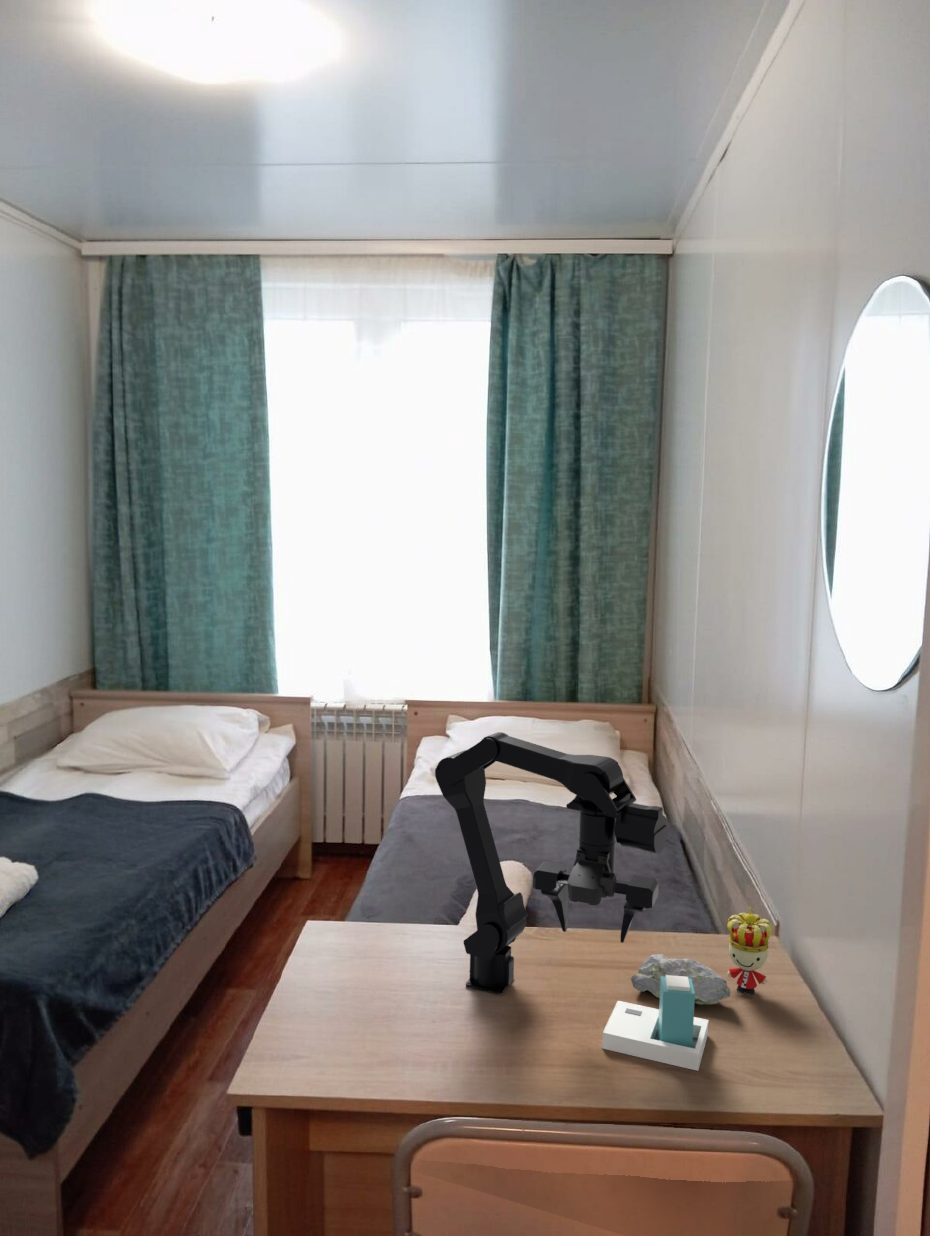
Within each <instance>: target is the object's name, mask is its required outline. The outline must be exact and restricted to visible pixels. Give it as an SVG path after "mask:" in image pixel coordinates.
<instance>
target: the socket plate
mask: <svg viewBox="0 0 930 1236" xmlns="http://www.w3.org/2000/svg"><path fill="white" fill-rule="evenodd" d="M609 1016H610V1017H609V1018H608V1020H607V1023H606V1025H605V1027H604V1030H603V1032H602V1042H601V1043H602V1044H601V1048H602V1049H603V1050H608V1051H611V1052H616V1053H621V1054H624V1055H629V1056H634V1057H637V1058H641V1059H645V1060H649V1061H653V1062H654V1061H655V1062H658V1063H663V1064H667V1065H672V1066H675V1067H680V1068H684V1069H687V1070H688V1069H689V1070H693V1071H697V1072H698V1071H699V1069H700V1067H701V1062H702V1058H703V1054H704V1052H705V1047H706V1043H707V1041H708V1040H707V1039H708V1036H709V1019H705V1018H701V1017H696V1016H694V1021H693V1040H692V1048H690V1047H685V1046H681V1045H676V1044H672V1043H668V1042H663V1041H659V1040H658V1022H659V1008H655V1007H649V1006H646V1005H645V1006H644V1005H639V1004H635V1003H631V1002H626V1001H621V1000H617V1001H616V1003H615V1006H614V1008H613V1010H612V1011H611V1014H610V1015H609Z"/></svg>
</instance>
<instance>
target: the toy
mask: <svg viewBox="0 0 930 1236" xmlns="http://www.w3.org/2000/svg"><path fill="white" fill-rule="evenodd" d="M752 907H753V905H751V904H749V906H746V910H750V911H749V912H748V913H746V912H740V913H738V914H732V915H731V916H729V918H728V919H727V924H726V925H727V926H726V927H727V930H728V933H729V937H728V943H729V944H728V945H729V946H728V953H729V957H730V959H731V960H732V962H733V964H735V966H737V967H733V968H732V967H731V968H729V969H728V971H727V976H728V977H729V978H732V979H736V978H737V977H738V976H739V977H738V978H737V980H736V984H737V988H736V991H737V992H738V993H742V994H743V993H746V994H747V995H751V996H753V995H756V991H755V988H757V986H758V984H759V985H761V984H762V985H766V984H767V982H768V979H767V976H766V975H765V974H762V973H760V972H758V971H757V970H759V969H761V968H762V967H763V966H764V965H765V963H766V962H767V959H768V955H769V952H768V951H769V944H770V943H769V940H770V937H771V935H772V933H773V932H772V927H773V926H772V925H771V922H770V920H768V919H766V918H762V917H761V915H759V914H757V913H752V911H755V908H752ZM733 918H735V919H733ZM735 924H738V927H736V928H735V927H734V925H735ZM762 926H763V927H764V928H765V929H764V931H762V929H761V928H760V927H762ZM757 983H758V984H757Z"/></svg>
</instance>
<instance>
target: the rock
mask: <svg viewBox="0 0 930 1236" xmlns="http://www.w3.org/2000/svg"><path fill="white" fill-rule="evenodd" d="M666 975H672V976H685V977H688V978H689V979H692V984H693V988H694V992H695V1003H694V1004H697V1005H700V1006H701V1005H706V1006H707V1005H714V1004H717V1003H719V1002H720V1000H723V999H727V998H731V988H730V987H729V986H728V983H727V982H728V981H727V980H726V979H725V978H723V977H722V976H720V975H719V974H717V972H715V971H714V969H712V968H710V967H709V966H706V965H705V964H704V963H701V962H699V961H697V960H694V959H692V958H687V957H685V958H683V959H682V958H674V957H672V958H668V957H667V956H666V955H664V954H663V953H656V954H655V953H654V954H652V955H650V956H649V957H648V958H647V959H645V960H644V961H643V962H642V963H641V964H639V968H638V973H636V974H633V975H632V976H631V978H630V980H631V983H632V987H633V988H634V989H636V990H637V991H640V992H645V991H648V992H649V993H651V994H652V995H654V996H655V998H659V999H660V981H661V976H663V977H666Z"/></svg>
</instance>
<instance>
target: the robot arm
mask: <svg viewBox="0 0 930 1236" xmlns="http://www.w3.org/2000/svg"><path fill="white" fill-rule="evenodd" d="M496 762H498V763H501V764H504V765H507V766H510V767H514V768H516V769H519V770H522V771H525V772H528V773H531V774H535V775H538V776H541V777H544V778H546V779H551V780H553V781H555V782H558V783H559V784H561V785H563V787H564V788H566V789H567V790H568V791H569V792H570V793H572V794H574V795H575V797H574V798H573V799H572V800H571V801H570V802H568V803H567V804H566V805H565V806H566V808H567V809H568V810H573V811H578V812H579V813H578V815H579V816H578V840H577V841H578V842H577V843H578V845H577V846H578V847H577V849H576V856H575V860H574V863H573V865H572V870H571V872H569V871H568V866H567V864H566V863H561V862H557V861H550V860H544V862H542V863H541V864H540V865H539V867H537V869H536V870H535V871H534V872H533V876H532V887H533V889H534V890H539V891H540V893H541V894H542V895H544V896H546V897H548V898H549V899H550V900H551V902H552V904H553V906H554V908H555V911H556V916H557V917H558V921H559V923H560V926H561V931H562V932H565V933H566V932H567V931H568V923H569V901H571V902H573V903H578V902H579V903H583V904H588V905H590V906H597V905H599V904H600V903H601V901H602V898H604V899H606V898H608V897H610V898H613V897H614V896H615V894H620V895H625V901H626V902H625V903H624V906H623V915H622V916H623V917H622V923H621V928H620V929H621V930H620V943H621V944H624V942H625V940H626V938H627V935H628V932H629V930H630V928H631V925H632V923H633V920H634V917H635V915H636V913H637V912H641V913H642V912H644V911H645V909H647V910H648V909H652V908H654V907H653V906H654V905H655V902H656V901H657V899H658V896H659V885H660V884H659V881H658V880H656V878H654V877H647V876H641V875H635V874H633V875H632V876H631V879H630V880H629V881H626V880H625V881H624V880H620V879H619V880H617V876H616V867H615V866H616V864H615V863H616V849H617V844H620V845H621V847H624V848H628V849H631V850H632V849H633V850H638V851H642V852H646V853H651V854H656V855H660V854H661V853H662V851H663V850H664V848H665V845H666V841H667V836H668V828H669V827H668V825H667V821H666V817H665V815H664V813H663V811H664V808H663V807H662V806H657V805H645V804H639V803H635V802H636V801H637V798H636V796H635V795H634V792H633V791H632V790H631V788H630V785H628V783H627V782H626V780H625V778H624V773H623V770H622V768H621V765H619V762H618V761H617V760H615V759H614V758H612V757H609V756H604V755H603V756H602V755H596V754H595V755H594V754H570V753H565V752H562V751H559V750H555V749H553V748H549V747H546V746H543V745H539V744H536V743H533V742H531V741H526V740H523V739H519V738H517V737H513V736H510V735H508V734H507V733H505V732H500V731H498V732H494V733H492V734H490V735H487V736H484V737H483V738H482V739H481V740H480V741H479V742H477V743H476V744H474V745H473V746H472V747H470V748H468V749H464V750H462V751H460V752H457V753H455V754H454V753H453V754H452V755H449V756H447V757H445V758H442V759H441V760H440V761H439V762H438V764H437V765H436V768H434V775H435V780H436V783H437V785H438V787H439V789H440V793H441V794H442V796H443V798H444V799H445V800H446V801H447V803H449V805H450V806H451V807H452V809H454V811H455V814H456V817H457V820H458V825H459V829H460V832H461V835H462V841H463V843H464V846H465V850H466V853H467V857H468V861H469V866H470V868H471V873H472V876H473V880H474V884H475V887H476V891H477V901H476V907H475V908H476V909H475V912H474V913H475V922H476V931H474V932H473V933H472V934H471V935H469V936H468V937H467V938H465V939H464V940H463V946H464V949H465V954H467V955H469V979H468V980H467V981H465V987H467V988H470V989H473V990H474V989H476V990H480V991H484V992H489V993H493V994H497V995H502V994H504V992H505V991H506V990H507V988H508V987H509V986H510V985H511V984H512V982H513V980H514V978H515V975H514V972H515V971H514V970H515V969H514V967H515V958H514V956H512V946H509V945H511V944H512V943H515V941H516V939H517V937H518V936H520V934H522V933H523V932H524V930H525V929H526V926H527V917H528V916H529V913H528V911H527V910H526V907H525V904H524V896H523V894H522V892H521V891H520V892H516V893H514V892H513V891H512V890H511V889H510V887H508V885H507V883H506V880H505V877H504V873H503V869H502V865H501V862H500V857H499V854H498V851H497V848H496V844H495V840H494V836H493V833H492V828H491V825H490V821H489V818H488V814H487V811H486V807H485V801H484V800H485V799H484V798H485V793H486V786H487V778H486V771H485V770H486V769H487V768H489V767H490V766H492V765H493V764H494V763H496ZM612 794H614V795H615V797H614V798H612V797H611V795H612Z"/></svg>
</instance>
